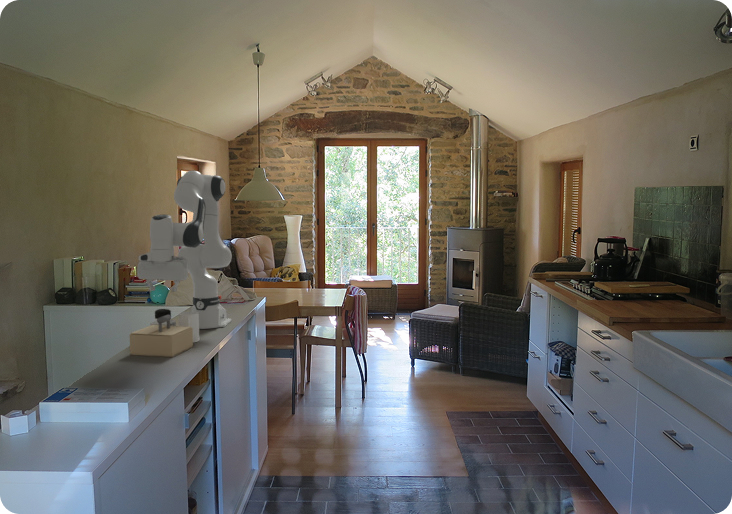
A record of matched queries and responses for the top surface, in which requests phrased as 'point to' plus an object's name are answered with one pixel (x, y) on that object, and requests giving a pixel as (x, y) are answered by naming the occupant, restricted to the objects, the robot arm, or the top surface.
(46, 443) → the top surface
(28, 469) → the top surface
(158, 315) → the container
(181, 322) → the mug
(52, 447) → the top surface
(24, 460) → the top surface
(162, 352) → the carton
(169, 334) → the near flap
